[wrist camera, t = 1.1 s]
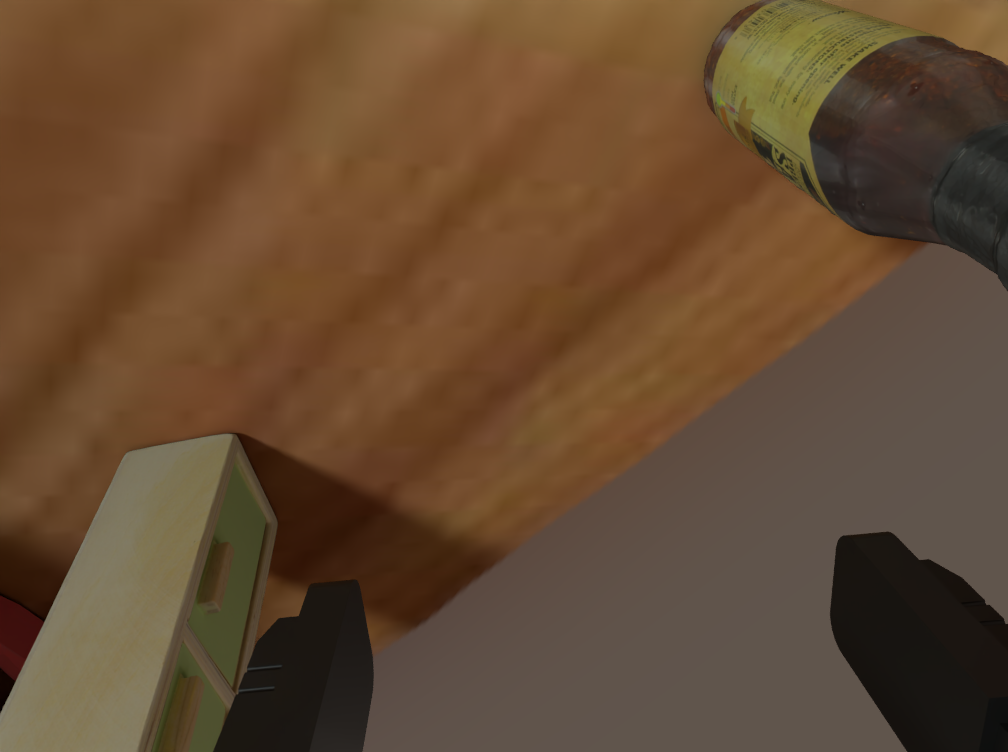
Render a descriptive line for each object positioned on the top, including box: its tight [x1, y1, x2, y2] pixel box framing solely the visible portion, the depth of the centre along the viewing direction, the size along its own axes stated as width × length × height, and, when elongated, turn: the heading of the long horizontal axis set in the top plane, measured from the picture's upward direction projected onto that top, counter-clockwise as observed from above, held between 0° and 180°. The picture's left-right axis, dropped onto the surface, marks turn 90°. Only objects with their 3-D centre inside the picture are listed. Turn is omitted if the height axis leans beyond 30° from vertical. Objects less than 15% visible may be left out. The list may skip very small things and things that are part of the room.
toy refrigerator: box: [0, 434, 278, 752], centre depth 36 cm, size 8×7×21 cm
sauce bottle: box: [704, 0, 1008, 291], centre depth 25 cm, size 7×6×20 cm
